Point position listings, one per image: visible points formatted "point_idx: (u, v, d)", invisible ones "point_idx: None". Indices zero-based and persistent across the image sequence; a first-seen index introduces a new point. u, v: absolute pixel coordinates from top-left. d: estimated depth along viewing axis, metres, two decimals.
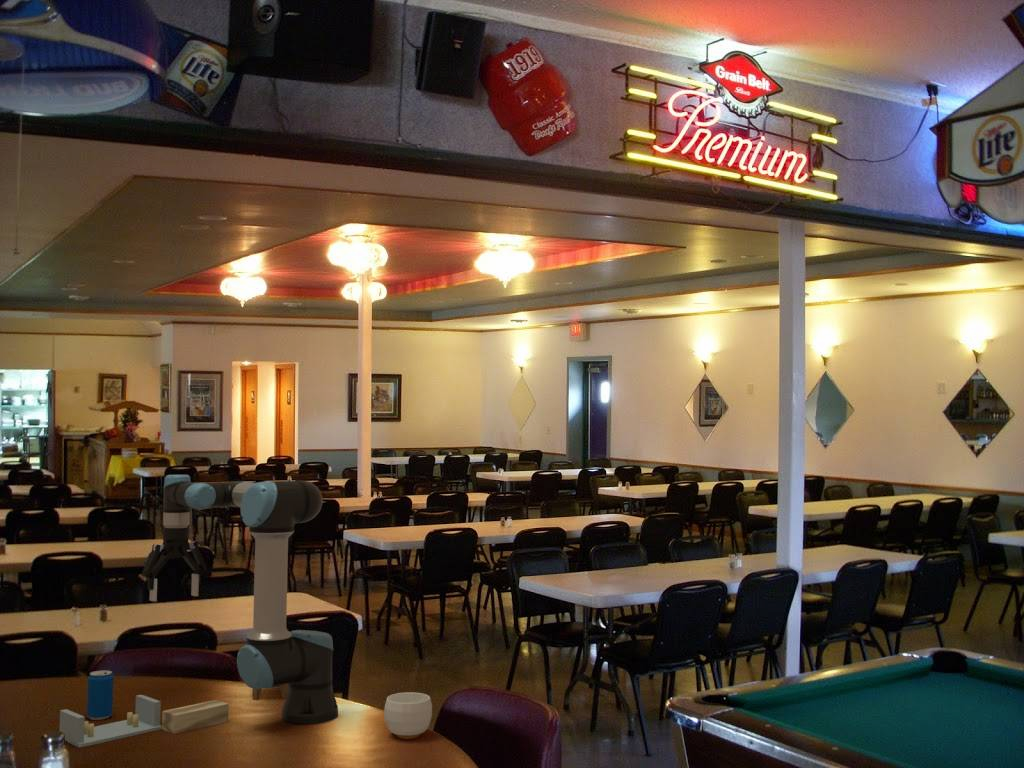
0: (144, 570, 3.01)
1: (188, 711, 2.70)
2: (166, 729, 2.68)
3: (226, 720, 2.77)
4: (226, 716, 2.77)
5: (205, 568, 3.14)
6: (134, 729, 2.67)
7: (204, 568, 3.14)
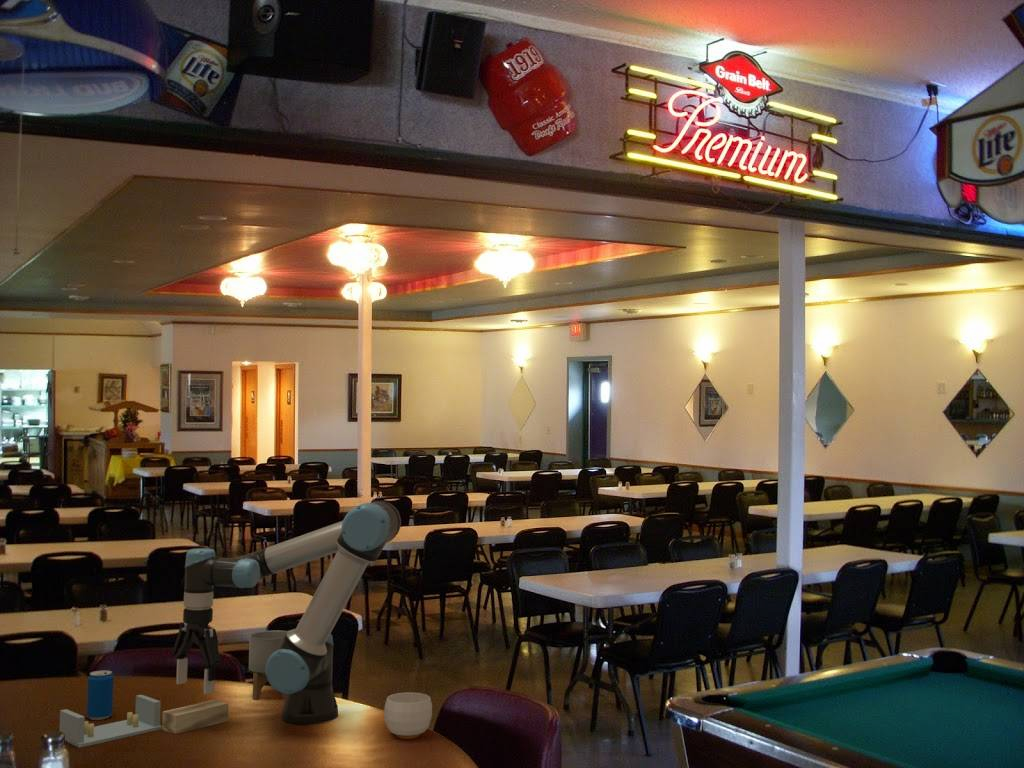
0: None
1: (189, 711, 2.70)
2: (167, 729, 2.68)
3: (226, 720, 2.78)
4: (226, 716, 2.78)
5: (211, 664, 2.67)
6: (134, 729, 2.67)
7: (211, 663, 2.68)
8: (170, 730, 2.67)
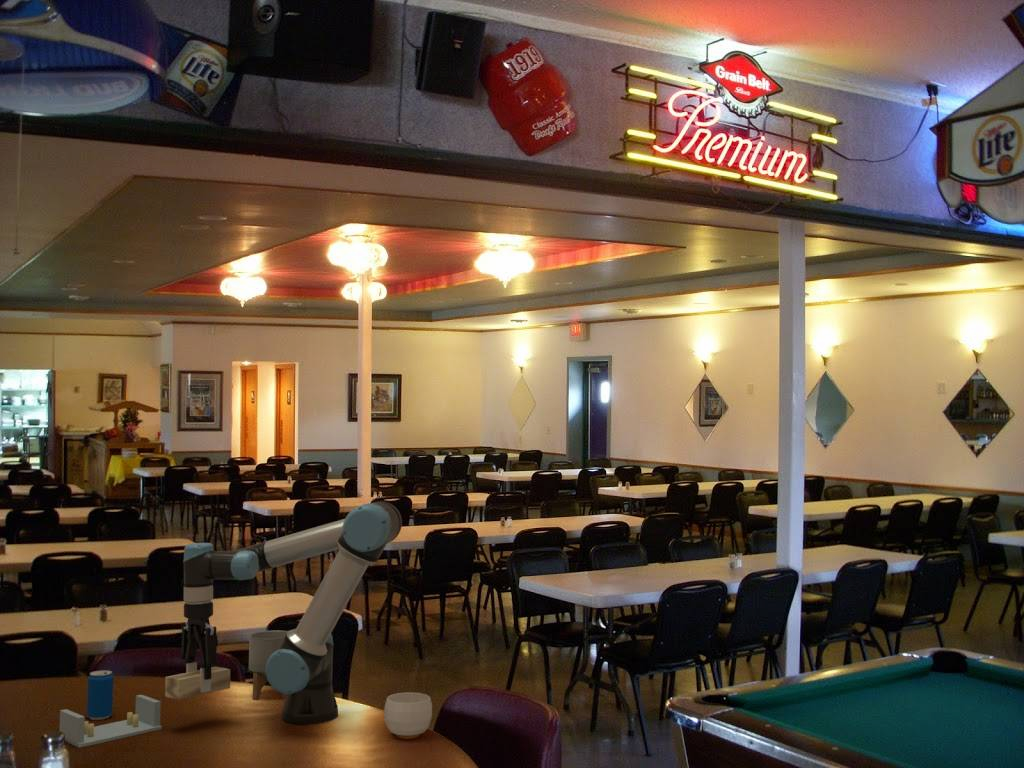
0: None
1: (192, 676, 2.70)
2: (170, 694, 2.68)
3: (228, 685, 2.78)
4: (228, 681, 2.78)
5: (207, 662, 2.69)
6: (134, 729, 2.67)
7: (206, 662, 2.70)
8: (173, 695, 2.67)
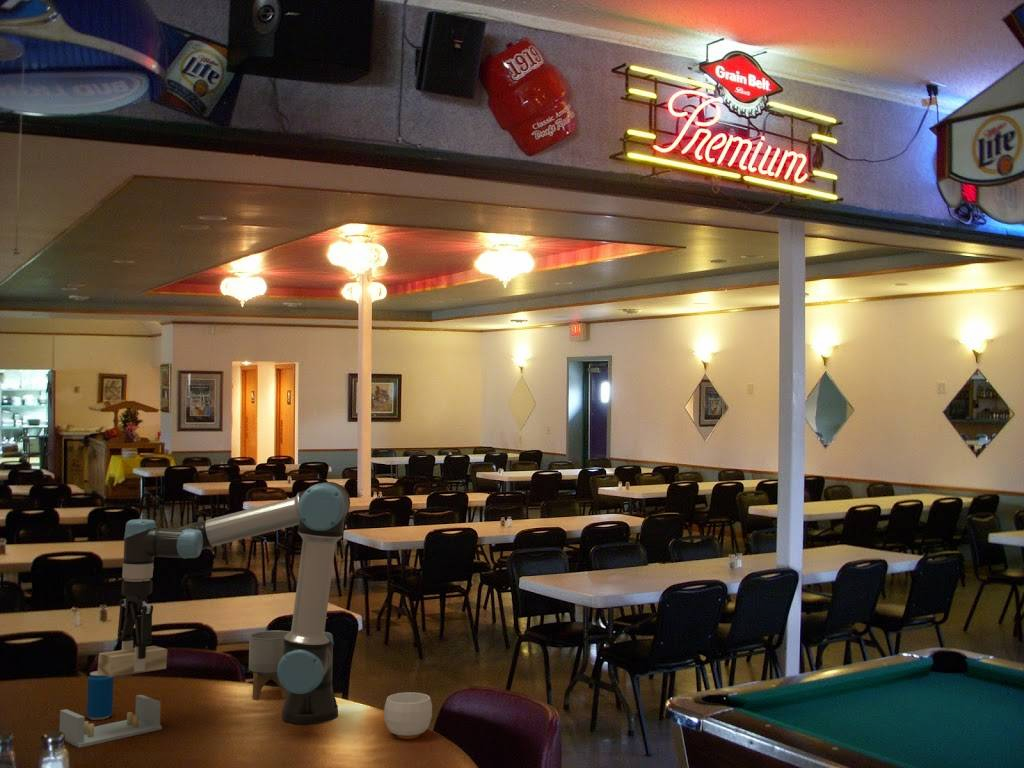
0: None
1: (126, 654, 2.65)
2: (102, 671, 2.63)
3: (164, 666, 2.73)
4: (164, 662, 2.73)
5: (141, 641, 2.64)
6: (134, 729, 2.67)
7: (141, 641, 2.64)
8: (105, 672, 2.62)
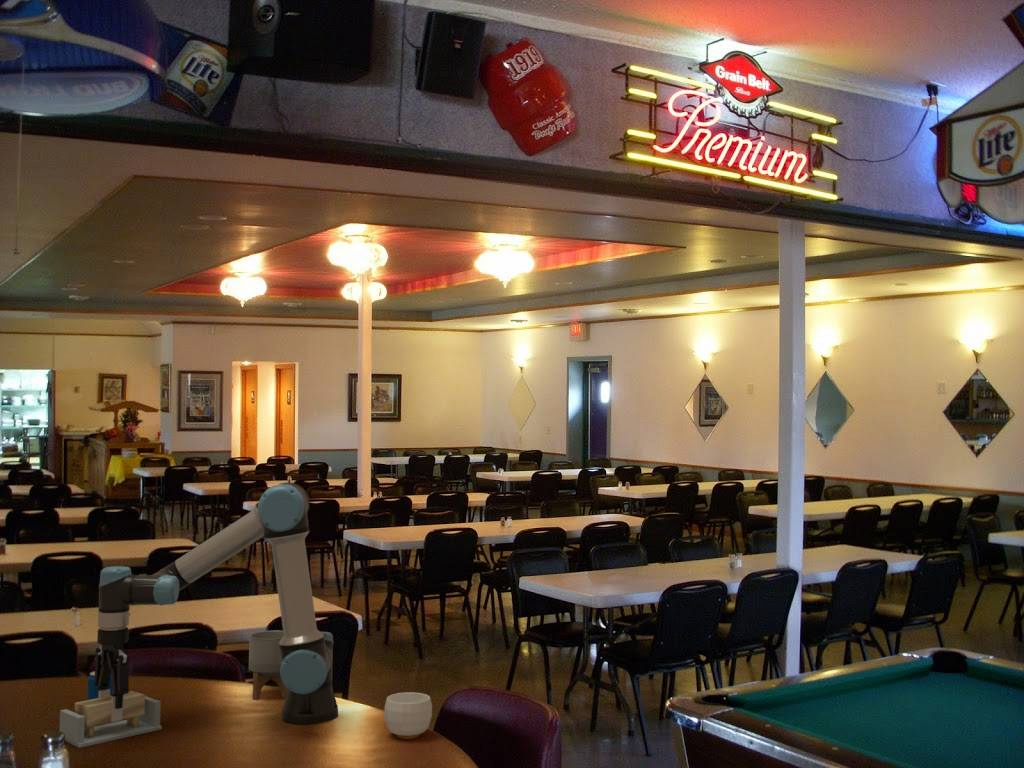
0: None
1: (102, 702, 2.62)
2: None
3: (142, 711, 2.70)
4: (142, 707, 2.70)
5: (118, 691, 2.61)
6: (134, 729, 2.67)
7: (117, 690, 2.61)
8: None
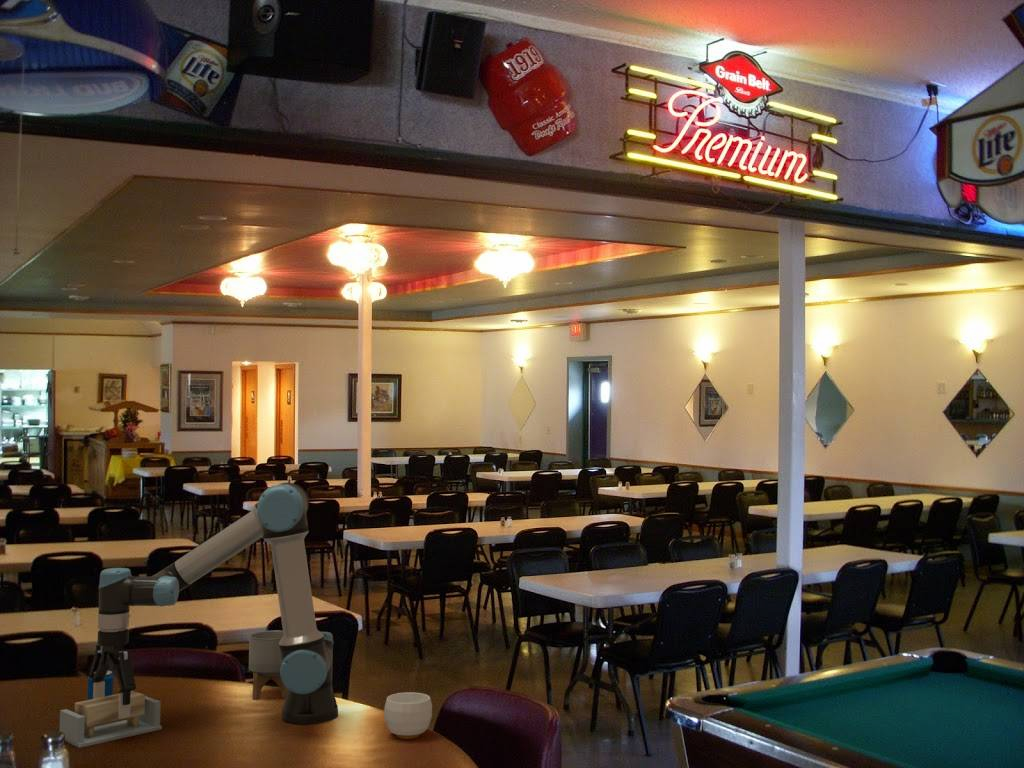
0: None
1: (102, 702, 2.62)
2: None
3: (142, 711, 2.70)
4: (142, 707, 2.70)
5: (125, 687, 2.59)
6: (134, 729, 2.67)
7: (125, 687, 2.59)
8: None
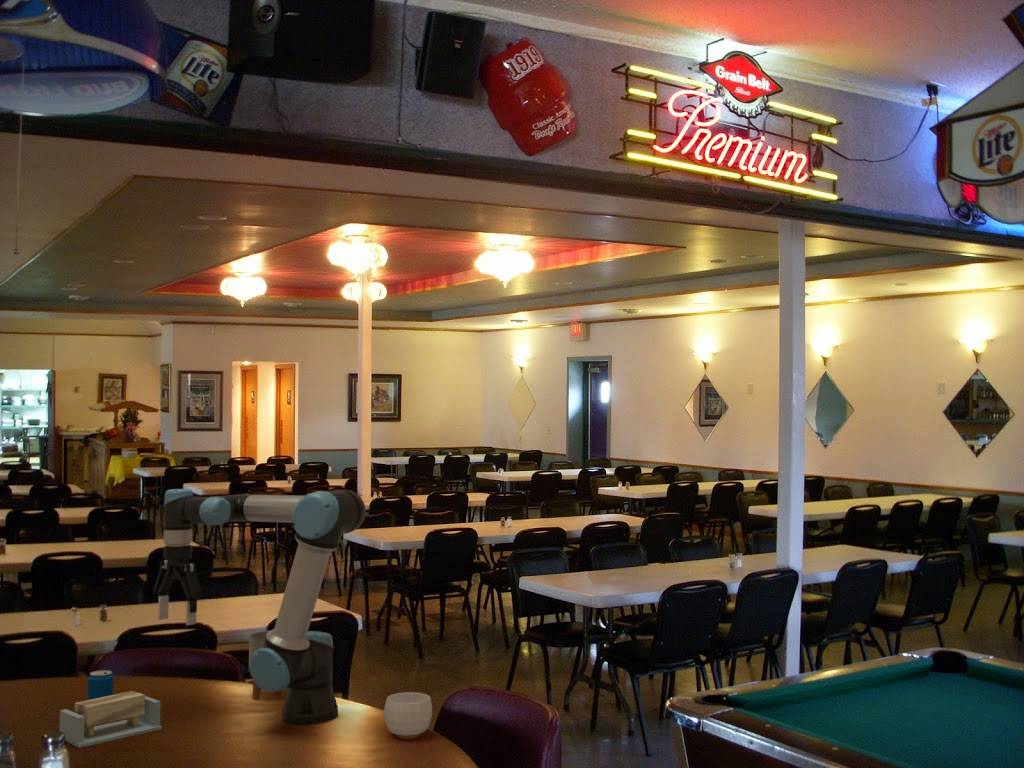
0: None
1: (102, 702, 2.62)
2: None
3: (142, 711, 2.70)
4: (142, 707, 2.70)
5: (193, 596, 2.80)
6: (134, 729, 2.67)
7: (192, 595, 2.80)
8: None
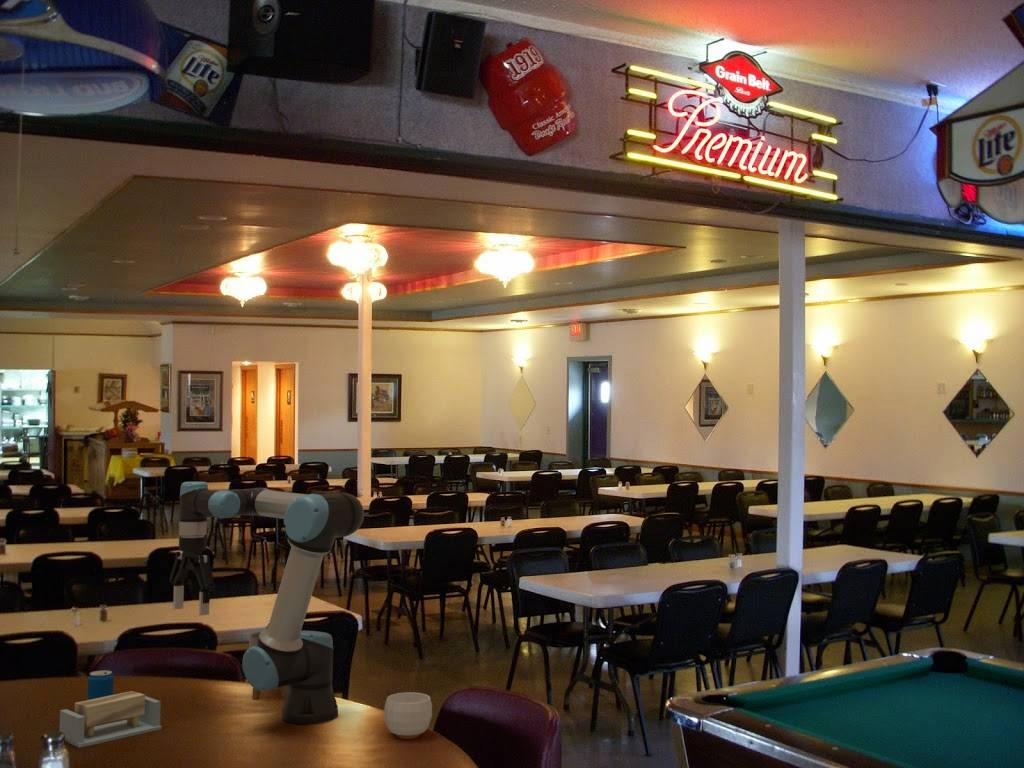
0: None
1: (102, 702, 2.62)
2: None
3: (142, 711, 2.70)
4: (142, 707, 2.70)
5: (206, 587, 2.85)
6: (134, 729, 2.67)
7: (205, 586, 2.86)
8: None
